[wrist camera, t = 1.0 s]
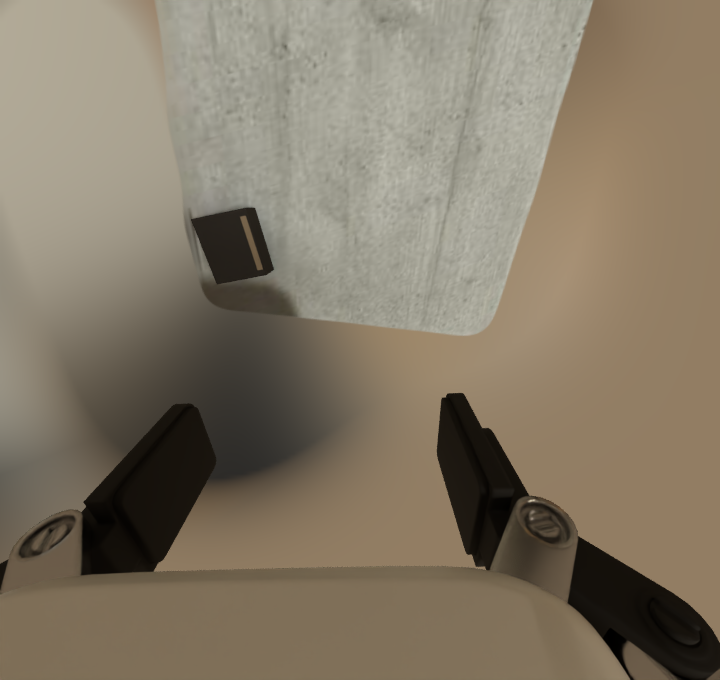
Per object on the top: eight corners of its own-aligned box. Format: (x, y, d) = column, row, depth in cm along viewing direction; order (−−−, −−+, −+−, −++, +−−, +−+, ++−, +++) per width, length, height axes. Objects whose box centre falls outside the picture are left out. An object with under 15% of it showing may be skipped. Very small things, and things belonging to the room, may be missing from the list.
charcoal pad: (205, 218, 33) (190, 219, 30) (255, 207, 32) (244, 207, 30) (227, 278, 36) (216, 284, 33) (274, 269, 35) (266, 275, 32)
